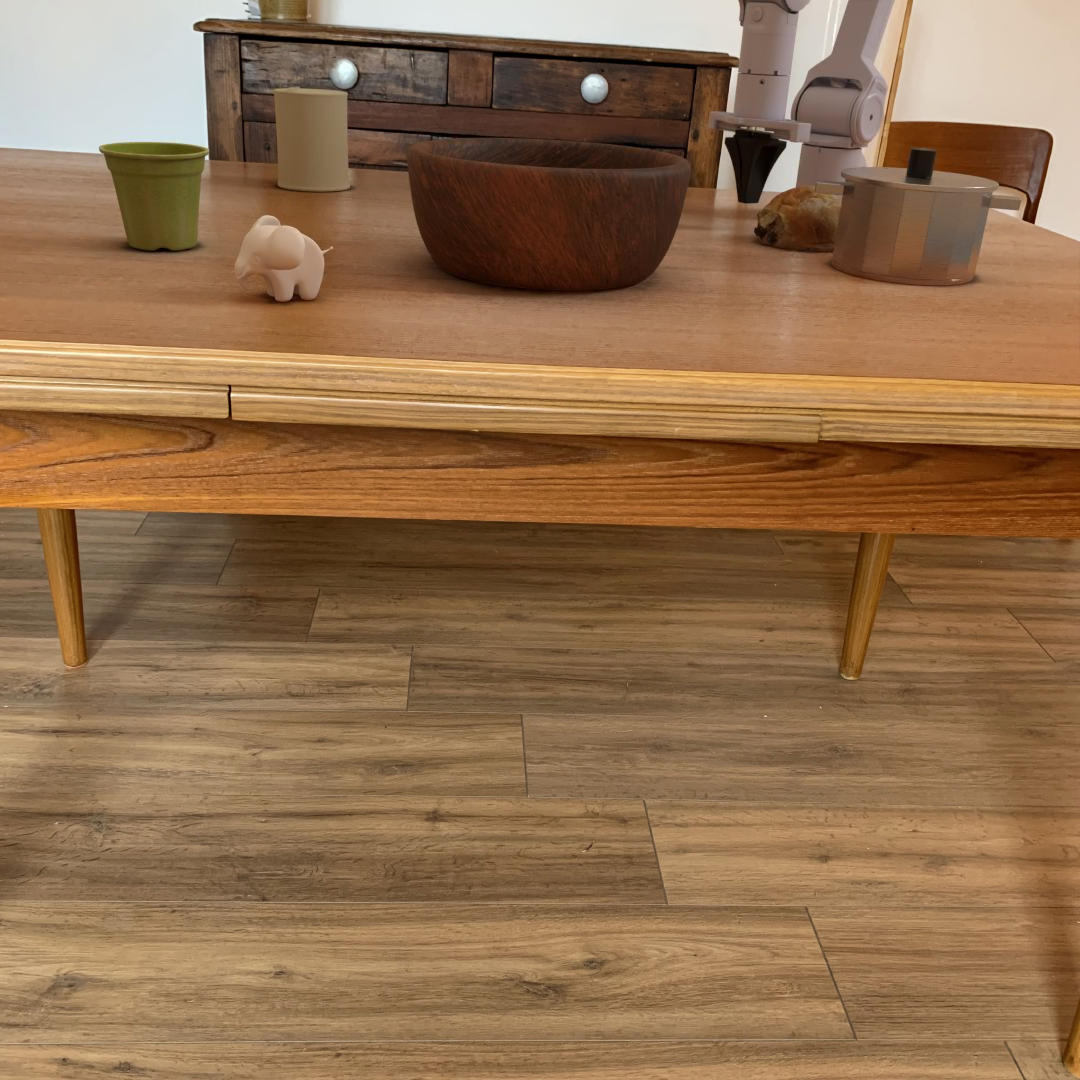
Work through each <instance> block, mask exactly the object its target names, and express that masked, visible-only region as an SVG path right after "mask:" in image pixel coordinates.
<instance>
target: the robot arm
mask: <svg viewBox="0 0 1080 1080" xmlns="http://www.w3.org/2000/svg"><path fill="white" fill-rule="evenodd" d="M737 1H738V5H739V15H738V21H739V25H740V27H742V34H741V43H740V52H739V61H738V69H737V76H736V87H735V95H734V103H733V111H732V112H728V111H709V119H708V130H712V131H725V132H732V133H734V134H733V135H732V136H726V137H724V145H725V147H726V149H727V152H728V155H729V158H730V161H731V165H732V168H733V173H734V179H735V189H736V196H737V197H736V198H737V203H741V204H745V205H748V204H759V203H760V199H761V196H762V195H763V191H764V189H765V186H766V183H767V182H768V179H769V176H770V174H771V172H772V170H773V167H774V166H775V164H776V163H777V161H778V159H779V158H780V157H781V155H782V154H783V152H784V151H785V150H786V148H787V145H788V141H789V143H801V147H800V152H799V153H800V154H799V162H798V167H797V175H796V182H795V188H796V187H798V186H816V182H817V180H824V181H836V182H845V178H843V177H841V171H842V170H843V169H846V168H854V167H868V166H867V160H866V157H865V155H864V153H863V152H862V148H863V149H864V148H868V146H869V144H870V143H872V141H873V140H874V139H875V137H876V136H877V135H878V133H879V131H880V129H881V127H882V124H883V120H884V114H885V102H886V97H887V93H888V90H889V86H888V83H887V81H886V79H885V78H884V76H883V75H882V73H881V72H880V71H879V70H878V68H877V67H876V66H875V62H876V59H877V56H878V54H879V50H880V47H881V44H882V41H883V37H884V34H885V31H886V29H887V25H888V23H889V19H890V16H891V13H892V10H893V7H894V4H895V1H896V0H848V1H847V3H846V6H845V9H844V12H843V15H842V19H841V21H840V25H839V28H838V32H837V34H836V38H835V41H834V43H833V47H832V50H831V52H830V54H829V55H828V56H827V57H825V58H824V59H822V60H821V61H819V62H818V63H816V64H815V65H814V66H812V67H811V68H810V69H808V70H807V74H806V76H805V79H804V82H803V84H802V86H801V88H800V89H799V90H798V92H797V93H796V94H795V96H794V99H793V102H792V105H791V109H790V119H789V118H786V113H787V112H786V111H787V103H788V96H789V89H790V81H791V73H792V68H793V59H794V52H795V44H796V36H797V28H798V21H799V16H800V15H799V14H800V11H802V10H804V9H805V8H806V6H807V5H809V4H810V2H811V0H737ZM751 127H752V128H761V129H763V130H757V129H752V128H751ZM836 196H837V197H838V198H840V200H841V201H842V196H843V195H836Z"/></svg>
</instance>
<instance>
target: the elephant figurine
mask: <svg viewBox="0 0 1080 1080" xmlns="http://www.w3.org/2000/svg"><path fill="white" fill-rule="evenodd" d="M333 249H334V247H333V246H329V248H328V249H325V250H322V249H321V248H320V247H319V245H318V244H317V243H316V242H315V241H314V240H313V239H312V238H310V237H309V236H307V235H305V234H304V233H302V232H301V231H300V230H298V229H297V228H296V227H294V226H290V225H281V222H280V220H279V219H278V218H277V217H275V216H273V215H268V214H264V215H262V216H260V217H259V218H258V219H256V221H255V222H254V223H253V225H252V226H251V228H250V229H249V231H248V232H247V233H246V235H245V236H244V237H243V239H242V243H241V247H240V250H239V254H238V256H237V259H236V260H235V263H234V267H233V268H234V270H232V271H231V272H230V274H235V279H236V281H237V283H238V284H239V285H240V287H242V288H243V289H244V290H246V291H253V290H255V289H256V288H257V287H258V282H257V281H256V280H250V281H248V278H249V277H250V276H253V275H261V276H262V278H263V281H264V284H265V287H266V292H267V294H268V296H269V297H273V298H274V299H275V300H276V301H277V302H279V303H285V302H289V301H290V300H291V299H292V298H293V296H294V294H295V295H299V297H300V299H301V300H305V301H312V300H314V299H316V298H317V296H318V294H319V292H320V289H321V286H322V282H323V278H324V271H325V258H324V255H325V254H326V253H327V252H329V251H331V250H333Z"/></svg>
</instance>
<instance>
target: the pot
mask: <svg viewBox="0 0 1080 1080" xmlns="http://www.w3.org/2000/svg"><path fill="white" fill-rule="evenodd" d="M815 193H821V194H832V195H843V196H842V202H841V208H840V215H839V221H838V227H837V233H836V239H835V245H834V251H833V252H832V257H831V258H832V259H831V266H832V267H833V268H834V269H836V270H837V271H840V272H842V273H846V274H849V275H851V276H852V275H853V276H856V277H859V278H865V279H870V280H875V281H880V282H888V283H895V284H903V285H917V286H956V285H962V284H967V283H970V282H972V280H973V279H974V276H975V275H976V271H977V265H978V261H979V258H980V257H979V256H980V252H981V248H982V242H983V239H984V234H985V231H986V230H985V229H986V225H987V220H988V215H989V210H990V209H997V210H1009V211H1020V209H1021V205H1022V199H1021V197H1019V196H1014V195H1004V194H1003V195H1001V194H993V193H994V191H992V192H984V193H950V192H932V191H919V190H908V189H899V188H890V187H883V186H876V185H870V184H864V183H859V182H855V181H851V180H847V179H845V182H836V181H824V180H817V182H816V187H815Z"/></svg>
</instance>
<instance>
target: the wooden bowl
mask: <svg viewBox="0 0 1080 1080" xmlns="http://www.w3.org/2000/svg"><path fill="white" fill-rule="evenodd" d="M406 164H407V173H408V180H409V181H408V182H409V188H410V195H411V202H412V208H413V212H414V213H413V214H414V217H415V221H416V225H417V227H418V230H419V234H420V237H421V240H422V242H423V244H424V246H425V248H426V250H427V252H428V254H429V255H430V257H431V258H432V260H433V262H434V263H435V264H436V265H437V266H438V267H439V268H440V269H441V270H442V271H444V272H446V273H448V274H450V275H453V276H455V277H459V278H461V279H466V280H469V281H472V282H478V283H484V284H488V285H494V286H502V287H508V288H518V289H530V290H545V291H593V290H606V289H614V288H615V289H616V288H621V287H622V288H623V287H626V286H631V285H635V284H637V283H641V282H643V281H645V280H646V279H647V278H649V277H650V276H651V275H653V274H654V272H655V271H656V270H657V269H658V267H660V265H661V263H662V262H663V260H664V258H665V256H666V255H667V253H668V251H669V250H670V247H671V245H672V243H673V240H674V238H675V236H676V233H677V230H678V227H679V223H680V220H681V218H682V213H683V209H684V205H685V201H686V196H687V192H688V189H689V184H690V178H691V172H692V169H691V167H692V166H691V163H690V162H689V161H688V160H687V159H686V158H685V157H682V156H680V155H676V154H673V153H669V152H665V151H660V150H655V149H649V148H643V147H635V146H628V145H619V144H611V143H600V142H590V141H577V140H563V139H547V138H546V139H544V138H524V137H523V138H522V137H521V138H520V137H519V138H518V137H463V138H462V137H461V138H460V137H458V138H444V139H443V138H442V139H432V140H425V141H421V142H416V143H413V144H412V145H410V146H409V147H408V148H407V152H406Z"/></svg>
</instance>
